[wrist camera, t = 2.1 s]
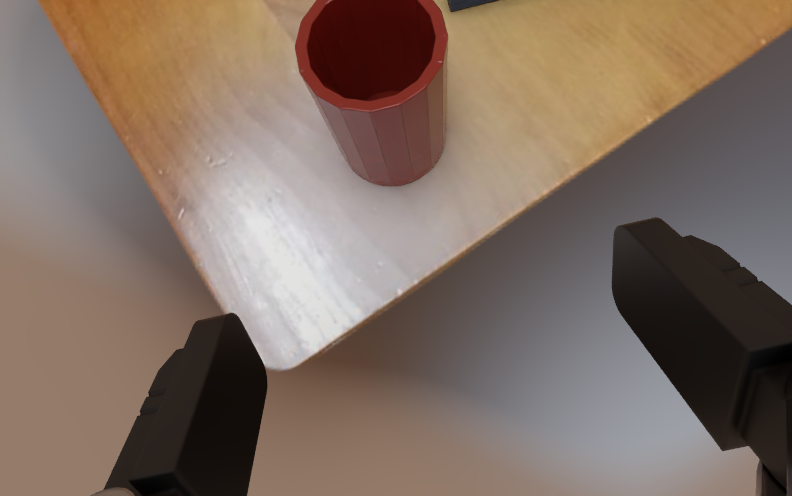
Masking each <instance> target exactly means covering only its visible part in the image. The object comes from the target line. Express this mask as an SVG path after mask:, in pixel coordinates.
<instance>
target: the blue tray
mask: <svg viewBox="0 0 792 496" xmlns="http://www.w3.org/2000/svg"><path fill="white" fill-rule="evenodd" d="M492 1H496V0H448V4H449V7H450V11H451V12H452V11H456V10H460V9H464V8H468V7H472V6H476V5H480V4H484V3H488V2H492Z"/></svg>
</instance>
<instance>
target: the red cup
mask: <svg viewBox="0 0 792 496" xmlns="http://www.w3.org/2000/svg"><path fill="white" fill-rule="evenodd" d="M295 51H296V56H297V62H298V67H299V72H300V75H301V76H302V78H303V80H304V82H305V84H306V86H307V88H308V90H309V92H310V94H311V96H312V98H313V99H314V101H315V103H316V105H317V107H318V109H319V111H320V113H321V115H322V117H323V119H324V121H325V122H326V124H327V126H328V128H329V130H330V132H331V134H332V136H333V138H334V140H335V142H336V144H337V145H338V147H339V149H340V151H341V153H342V155H343V156H344V158H345V159H346V161H347V163H348V164H349V166H350V167H351V168H352V169H353V171H354V172H355V173H357V174H358V175H359V176H360V177H362V178H363V179H365V180H367V181H369V182H371V183H374V184H378V185H382V186H399V185H404V184H408V183H411V182H413V181H415V180H417V179H419V178H421V177H422V176H424V175H425V174H426V173H428V172H429V171H430V170H431V169H432V168H433V167H434V165H435V164H436V163H437V161H438V159H439V158H440V156H441V153H442V151H443V148H444V144H445V134H446V119H447V65H448V34H447V30H446V26H445V22H444V19H443V15H442V12H441V10H440V8H439V7H438V6H437V5H436V4H435V2H434V1H433V0H316V1H315V3H314V4H313V6H312V7H311V8H310V10H309V11H308V12H307V14H306V15H305V16H304V18H303V19H302V21H301V24H300V28H299V32H298V36H297V40H296V44H295Z"/></svg>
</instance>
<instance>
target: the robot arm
mask: <svg viewBox="0 0 792 496" xmlns="http://www.w3.org/2000/svg"><path fill="white" fill-rule="evenodd" d="M612 267H613V268H612V292H613V296H614V300H615V303H616V306H617V308H618V310H619V312H620V313H621V315H622V316H623V318H624V319H625V321H626V322H627V323H628V325H629V326H630V327H631V329H632V330H633V331H634V333H635V334H636V335H637V337H638V338H639V339H640V341H641V342H642V343H643V345H644V346H645V348H646V349H647V350H648V352H649V353H650V354H651V355H652V357H653V358H654V360H655V361H656V362H657V364H658V365H659V366H660V368H661V369H662V370H663V372H664V373H665V374H666V376H667V377H668V378H669V380H670V381H671V383H672V384H673V385H674V387H675V388H676V389H677V391H678V392H679V393H680V395H681V396H682V397H683V399H684V400H685V401H686V403H687V404H688V405H689V407H690V408H691V409H692V411H693V412H694V413H695V415H696V416H697V417H698V419H699V420H700V422H701V423H702V424H703V426H704V427H705V428H706V430H707V431H708V432H709V434H710V435H711V436H712V438H713V439H714V440H715V442H716V443H717V444H718V446H719V447H720V449H721V450H722V451H725V450H730V449H735V448H740V447H745V446H750V448H751V449H752V450H753V451H754V453H755V454H756V455H757V456H758V457H759V459H760V461H759V463H758V467H757V479H756V496H792V305H791V304H790V303H788V302H787V301H786V300H785V299H783V298H782V297H781V296H780V295H778V294H777V293H776V292H775V291H773V290H772V289H771V288H770V287H768V286H767V285H766V284H765V283H763V282H762V281H758V280H757V277H756V276H755V275H754V274H752V273H751V272H750V271H749V270H747V269H746V268H745V267H740V263H738V262H737V261H736V260H735V259H734V258H732V257H731V256H730V255H729V254H727V253H726V252H725V251H724V250H722V249H721V248H720V247H718V246H716V245H713V244H711V243H708V242H706V241H704V240H701V239H699V238H696V237H694V236H692V235H690V236H686V237H682V236H680V235H679V234H678V233H677V232H676V231H675V230H673V229H672V228H671V227H670V226H669V225H668V224H666V223H665V222H664V221H663V220H662V219H660V218H656V217H655V218H651V219H646V220H642V221H637V222H634V223H629V224H624V225H620V226H618V227H616V229H615V231H614V240H613V266H612ZM148 393H149V397H146V399H145V401H144V403H143V405H142V407H141V410H140V413H141V414H140V416H137V418H136V420H135V423H134V425H133V427H132V429H131V432H130V433H129V436H128V438H127V440H126V442H125V444H124V447H123V449H122V451H121V453H120V455H119V457H118V460H117V462H116V464H115V466H114V468H113V470H112V473H111V475H110V477H109V479H108V481H107V483H106V486H105V488H104V490H102V491H100V492H97V493H95V494H93V495H91V496H247V492H248V487H249V482H250V476H251V471H252V466H253V461H254V455H255V450H256V445H257V440H258V434H259V429H260V424H261V419H262V414H263V409H264V403H265V398H266V393H267V375H266V370H265V367H264V364H263V362H262V360H261V358H260V356H259V354H258V352H257V350H256V348H255V346H254V344H253V343H252V341H251V339H250V337H249V335H248V333H247V331H246V329H245V328H244V326H243V324H242V322H241V320H240V318H239V317H238V316H237V315H236V314H234V313H229V314H224V315H220V316H216V317H212V318H207V319H203V320H198V321H197V322H195V324H194V325H193V327H192V330H191V332H190V335H189V337H188V339H187V342H186V344H185V346H184V348H183V349H178V350H176V351H175V352H174V353H173V355H172V356H171V357H170V358H169V359H168V360H167V362H166V363H165V364H164V365H163V366H162V367H161V368H160V370H159V371H158V373H157V375H156V377H155V379H154V381H153V383H152V386H151V388H150V390H149V392H148Z"/></svg>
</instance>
